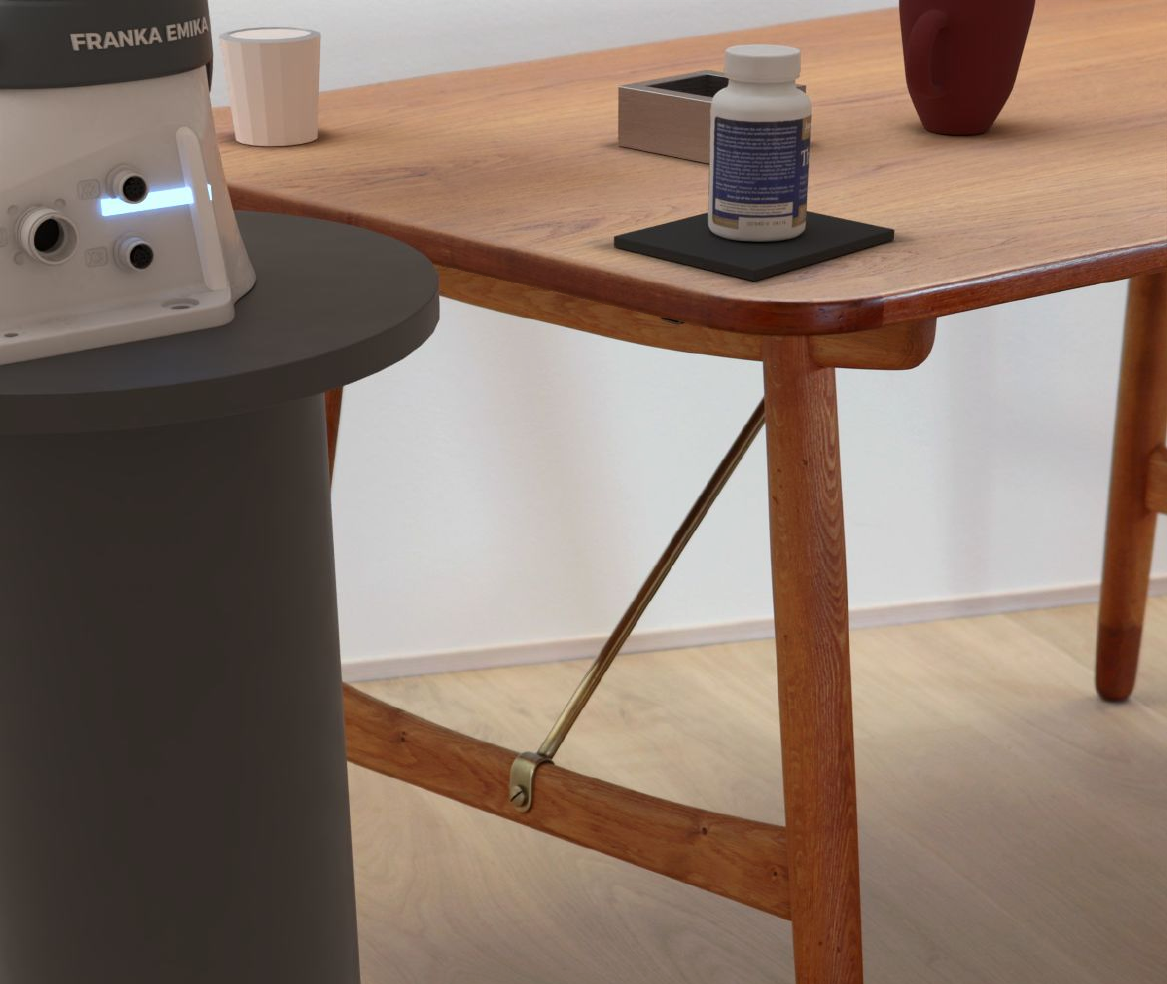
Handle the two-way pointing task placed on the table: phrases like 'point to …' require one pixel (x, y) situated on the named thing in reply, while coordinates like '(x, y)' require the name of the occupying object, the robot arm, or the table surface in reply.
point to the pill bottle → (759, 146)
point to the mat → (753, 245)
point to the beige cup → (272, 84)
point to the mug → (962, 59)
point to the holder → (670, 114)
